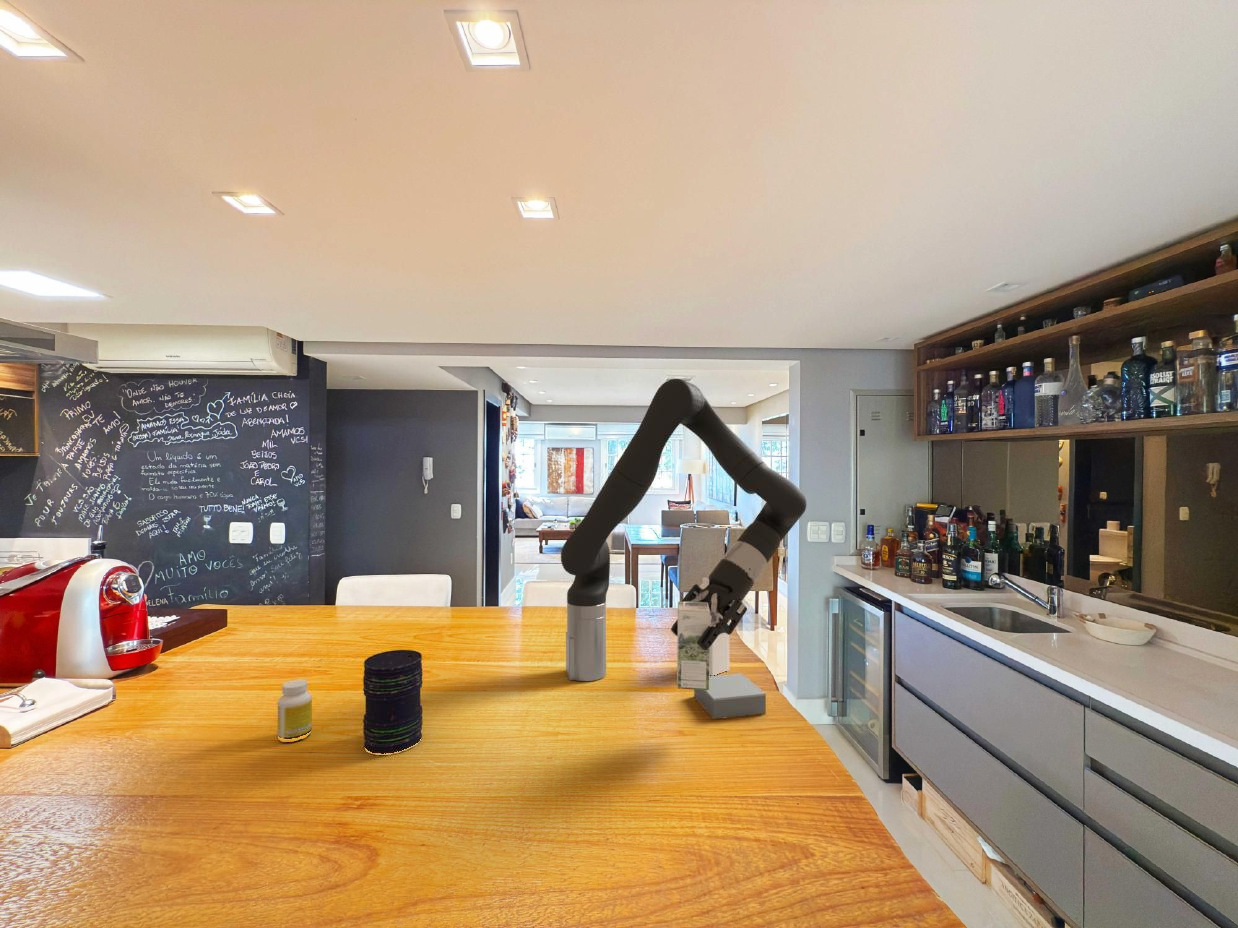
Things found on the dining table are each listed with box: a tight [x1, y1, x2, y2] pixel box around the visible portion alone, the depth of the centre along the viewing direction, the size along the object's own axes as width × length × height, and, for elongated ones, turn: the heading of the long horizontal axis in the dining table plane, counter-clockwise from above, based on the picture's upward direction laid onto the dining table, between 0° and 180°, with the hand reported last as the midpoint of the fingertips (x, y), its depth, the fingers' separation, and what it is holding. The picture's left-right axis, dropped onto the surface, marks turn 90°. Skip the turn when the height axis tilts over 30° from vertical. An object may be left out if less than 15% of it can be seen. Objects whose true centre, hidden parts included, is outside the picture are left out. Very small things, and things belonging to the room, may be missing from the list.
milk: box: [699, 577, 730, 676], centre depth 134 cm, size 6×6×22 cm
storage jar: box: [362, 649, 424, 754], centre depth 99 cm, size 10×10×15 cm
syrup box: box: [676, 601, 710, 690], centre depth 100 cm, size 6×6×14 cm
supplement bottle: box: [277, 679, 313, 739], centre depth 101 cm, size 5×5×10 cm
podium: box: [693, 673, 767, 720], centre depth 114 cm, size 11×11×4 cm
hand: (687, 640), depth 100 cm, fingers closed on syrup box, 8 cm apart
